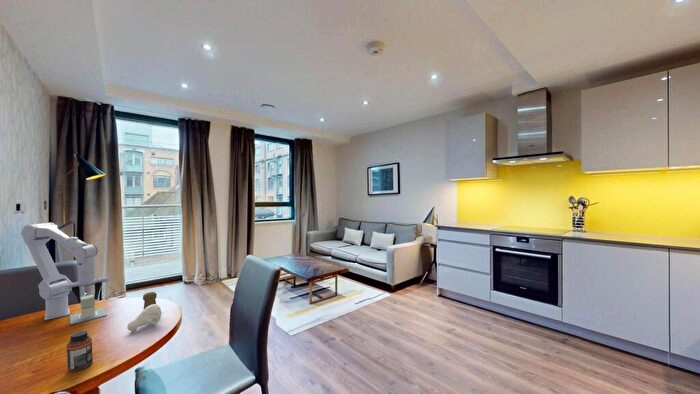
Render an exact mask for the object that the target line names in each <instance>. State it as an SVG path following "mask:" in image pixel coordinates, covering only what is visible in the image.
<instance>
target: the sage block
mask: <svg viewBox="0 0 700 394" xmlns="http://www.w3.org/2000/svg"><path fill="white" fill-rule="evenodd" d="M94 295H95V294H90V295H86V296H80V301H81V303H80V310H81V309H82V308H86V307H91V306H95V307H96V305H95V304H96V303H95V302H96V300H95V298H94Z"/></svg>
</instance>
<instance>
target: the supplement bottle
mask: <svg viewBox="0 0 700 394" xmlns="http://www.w3.org/2000/svg"><path fill="white" fill-rule="evenodd" d="M92 340H93V339H92V337H91V336H90V335H89V333H88V330H84V329H83V330H79V331H76V332H74V333H72V334H70V340H69V341H68V342H67V344H66V360H67V371H68V372H70V373H73V372H74V373H75V372H79V371H82V370H86V368H87V369H88V367H90V366H91V365H92V364H93V341H92Z"/></svg>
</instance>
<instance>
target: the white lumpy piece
mask: <svg viewBox="0 0 700 394" xmlns="http://www.w3.org/2000/svg"><path fill="white" fill-rule="evenodd" d="M143 309H144V308H143ZM162 313H163V312H162V309H161V306H160V305H158V304H157V303H156V304H153V305H150V306H148V307H146V308H145V309H144V310H141V312H140V313H139V314H138V315H137V317H136V318H135V319H133V320H131V321H130V322H129V323H127V330H128V331H130V332H131V333H134V332H137V331H138V329H139V328H140V327H143V326H146V325H153V326H154V327H157V325H158V324H159V323H160V321H161V317H162Z"/></svg>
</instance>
